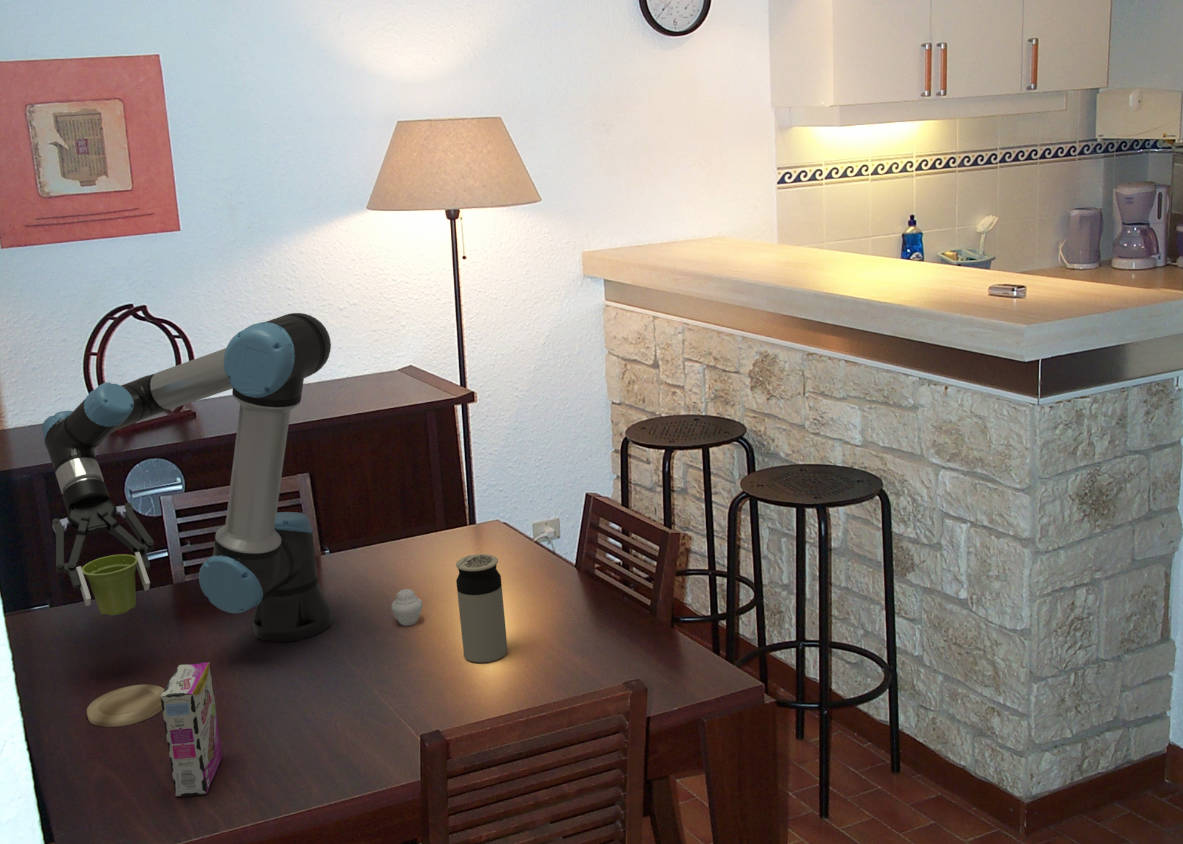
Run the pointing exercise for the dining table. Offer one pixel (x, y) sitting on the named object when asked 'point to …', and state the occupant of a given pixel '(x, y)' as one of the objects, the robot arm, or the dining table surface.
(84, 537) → the robot arm
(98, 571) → the plant pot
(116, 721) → the plate
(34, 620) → the dining table surface
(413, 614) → the muffin
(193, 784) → the candy bar box
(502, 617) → the travel mug
